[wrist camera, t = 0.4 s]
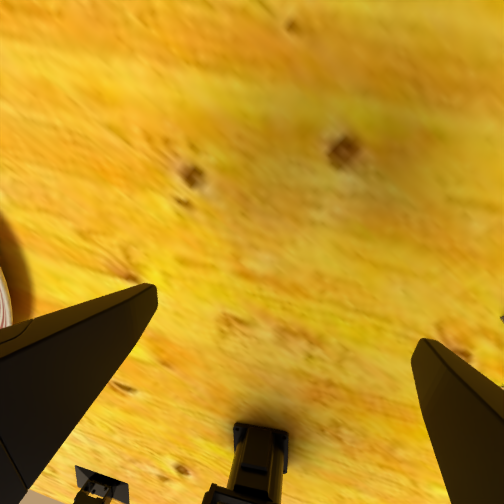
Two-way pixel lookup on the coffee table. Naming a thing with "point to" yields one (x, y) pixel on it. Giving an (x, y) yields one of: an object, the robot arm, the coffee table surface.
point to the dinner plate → (5, 303)
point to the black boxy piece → (99, 488)
